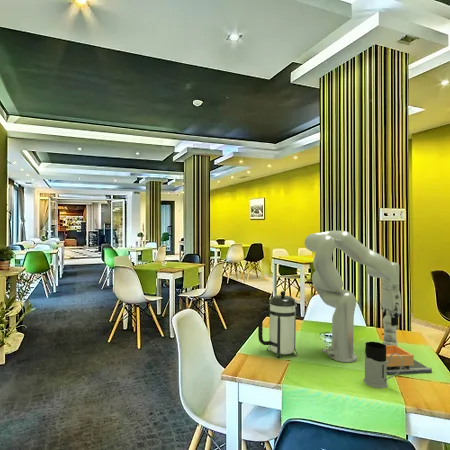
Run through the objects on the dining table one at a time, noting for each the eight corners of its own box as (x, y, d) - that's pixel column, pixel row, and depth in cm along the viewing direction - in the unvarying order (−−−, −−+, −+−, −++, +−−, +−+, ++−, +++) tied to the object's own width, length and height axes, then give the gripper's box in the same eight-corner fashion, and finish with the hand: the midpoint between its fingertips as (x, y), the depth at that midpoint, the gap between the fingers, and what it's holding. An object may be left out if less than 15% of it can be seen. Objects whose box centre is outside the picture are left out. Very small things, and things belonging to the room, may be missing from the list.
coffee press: (271, 345, 171) (272, 286, 171) (301, 351, 163) (302, 290, 163) (257, 356, 156) (258, 292, 156) (290, 364, 148) (291, 296, 148)
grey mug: (369, 375, 137) (369, 339, 137) (406, 388, 126) (406, 349, 127) (359, 382, 131) (359, 344, 131) (397, 396, 121) (398, 355, 121)
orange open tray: (386, 370, 138) (387, 356, 138) (370, 359, 150) (370, 345, 150) (413, 369, 140) (413, 355, 140) (395, 357, 152) (395, 345, 152)
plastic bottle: (399, 353, 162) (399, 312, 162) (384, 352, 163) (384, 311, 163) (395, 348, 168) (395, 308, 168) (380, 347, 169) (381, 308, 169)
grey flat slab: (387, 374, 138) (387, 370, 138) (370, 362, 151) (370, 358, 151) (431, 372, 140) (431, 368, 140) (410, 360, 153) (410, 356, 153)
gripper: (409, 290, 157) (408, 328, 157) (386, 284, 175) (386, 318, 175) (394, 290, 156) (394, 328, 156) (373, 284, 174) (373, 318, 174)
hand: (390, 322), depth 165 cm, fingers closed on plastic bottle, 6 cm apart
